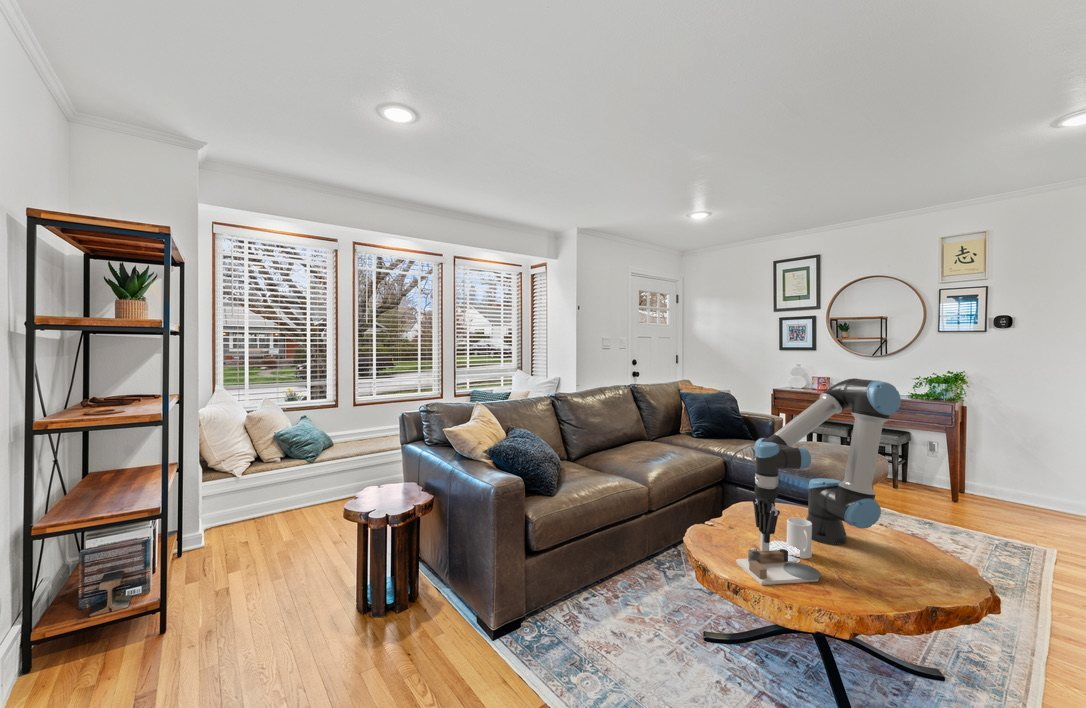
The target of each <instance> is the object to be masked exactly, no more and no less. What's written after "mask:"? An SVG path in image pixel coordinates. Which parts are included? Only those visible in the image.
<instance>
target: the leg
mask: <svg viewBox="0 0 1086 708" xmlns="http://www.w3.org/2000/svg"><path fill="white" fill-rule="evenodd" d="M747 552H748V554H747V555H748V557H747V559H748V561H757V562H758V563H769V562H788V556H789V554H788V551H787V550H786V548H785V549H783V548H780V549H773V550H772V549H771V550H769V551H761V550H757V552H752V551H751V549H749V550H748V551H747Z"/></svg>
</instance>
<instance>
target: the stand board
mask: <svg viewBox="0 0 1086 708" xmlns="http://www.w3.org/2000/svg"><path fill="white" fill-rule="evenodd" d="M750 550H751V551H752V552H757V551H758V548H756V547H751V548H750ZM735 563H736V564H737V565H738V566H739V567H740V568H741V569H743V570H744V571H745V572H746V573H747V574H749V576H751V577H752V578H753V579H754V580H755V581H756V582H757V583H758V584H760V585H761V586H765V585H767V586H769V585H778V584H779V585H780V584H781V585H784V584H795V583H796V584H797V583H798V584H799V583H811V582H819V580H820V579H821V577H822V574H821V572H820V570H819V569H817V568H816V567H813V566H812V565H809V564H807V563H806V564H804V563H801V562H797V561H796V560H794V561H788V562H769V563H758V562H757V561H748V558H737V559H736V560H735Z"/></svg>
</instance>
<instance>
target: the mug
mask: <svg viewBox="0 0 1086 708" xmlns="http://www.w3.org/2000/svg"><path fill="white" fill-rule="evenodd" d="M812 541H813V540H812V523H811V522H810V521H808V520H806V518H805V519H804V518H802V517H788V518H787V520H786V544H789V545H791V546H793V547H796V548H797V549H799V550H800V558H799V559H802V560H803V559H805V560H807V559H811V558H812V556H813V554H812V543H813V542H812Z"/></svg>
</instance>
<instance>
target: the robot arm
mask: <svg viewBox="0 0 1086 708" xmlns="http://www.w3.org/2000/svg"><path fill="white" fill-rule="evenodd" d="M900 406H901V395H900V392H899V391H898V390H897V388H896V386H894V385H893V384H892V383H889V382H885V381H881V380H874V379H873V380H872V379H871V380H870V379H862V378H847V379H844V380H841V381H839V382H837V383H836V384H834V385H832V386H830V387H829V388H827V389H826V390H824V391H823V392H822V393H820V395H819V399H817V400H816V401H815V402H814V403H812V404H811V405H809V406H808V407H807V408H806V409H804V410H803V411H802V412H800V413H799V414H797V415H796V417H794V418H793V419H791V420H790V421H789V422H787V424H785V425H784V426H782V428H780V429H779V430H777V431H775V433H773V434H772V435H771V436H769V437H768V438H767V437H760V438H758V439H757V440H756V441H755V443H754V445H753V446H754V451H755V453H754V456H755V464H754V465H755V466H754V467H755V469H754V470H755V471H754V473H755V474H754V475H755V476H754V479H755V480H754V483H755V485H754V495H755V496H756V498H755V499H753V498H752V503H753V509H754V510H753V511H754V519H755V527H757V528H758V531H759V551H770V543H771V540H770V539H771V535H775V533H776V527H777V523H778V518H779V516H780V514H781V512H780V511H781V510H777V508H776V502H775V501H776V499H778V496H779V495H778V494H779V488H778V486H779V470H802V469H807V468H809V467H810V465H811V464H812V455H811V452H810V451H809V450H808V449H807V448H805V447H798V446H796V447H793V446H794V445H797V443H799V442H800V441H801V440H802V439H804V438H805V437H806V436H808V435H809V434H810V433H811V432H812V431H814V430H815V429H817V428H818V427H820V425H821V424H823V423H824V422H826V421H827V420H828V419H830V418H831V417H832V416H834V415H835V414H841V413H842V412H843V411H845V410H848V409H851V415H852V416H853V418H854V422H853V428H852V432H851V433H852V434H851V439H850V445H849V450H848V456H847V463H846V467H845V472H844V478H843V481H841V480H839V479H835V478H821V477H819V478H812V479H810V481H809V482H808V483H809V484H808V498H807V499H808V501H807V502H808V505H807V509H808V511H807V516H806V518H805V519H806V520H808V521H810V522H811V523H812V541H816V542H818V543H823V544H828V545H842V544H846V542H847V537H848V535H847V533H846V529H845V526H844V524H843V522H844V523H846V524H847V525H849V526H852V527H854V528H857V529H862V530H863V529H868V528H871V527H873V525H876V524H877V522H878V521H879V519H880V517H881V514H882V509H881V506H880V504H879V503H878V502H877V500H875V499H876V492H875V490H874V489H873V481H874V476H875V470H876V464H877V460H878V459H877V458H878V454H879V447H880V442H881V437H882V432H883V431H882V430H883V425H884V423H886V422H888V421H890V416H891V415H894V414H895V413H896V412H897V411H899V409H900Z"/></svg>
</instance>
